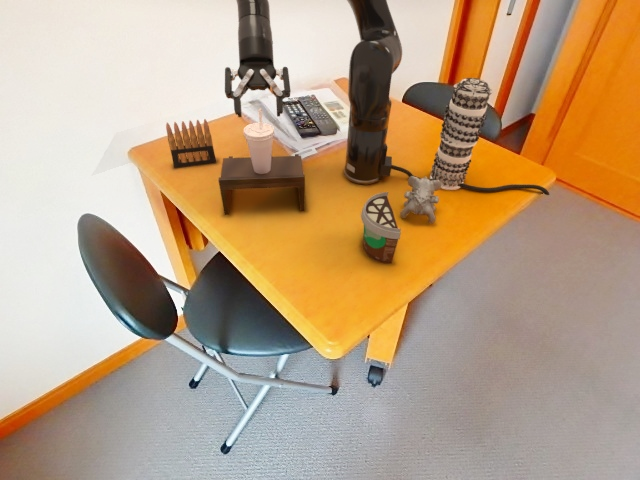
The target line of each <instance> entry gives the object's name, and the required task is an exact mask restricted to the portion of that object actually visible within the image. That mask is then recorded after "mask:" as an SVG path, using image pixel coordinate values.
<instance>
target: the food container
mask: <svg viewBox="0 0 640 480" xmlns="http://www.w3.org/2000/svg"><path fill="white" fill-rule="evenodd" d="M388 196H389V191H385V192H378V193H376V194H374V195H372V196H370V197H369V198H368V199H367V200H366V201H365V203H364V204H363V207H362V210H361V211H360V220H361V222H362V224H363V231H362V232H363V233H362V234H363V236H362V248H363V251H364V253H365V254H366V255H367V257H369V258H370V259H372V260H374V261H375V262H378V263H381V264H382V263H383V264H393V260H394V256H395V253H396V249H397V245H398V243H399V240H400V239H401V235H402V232H401V231H402V229H401V228H399V227H398V224H397V222H396V218H395V213H394V211H393V209H392V207H391V204H390V201H389V198H388Z"/></svg>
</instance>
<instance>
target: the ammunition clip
mask: <svg viewBox="0 0 640 480" xmlns="http://www.w3.org/2000/svg"><path fill="white" fill-rule="evenodd" d="M195 127H196V129H195ZM195 127H194V123H193V122H192V120H189V122H188V129H187V125H186V123H185V122H184V121H181V130H180V128H179V125H178V123H177V122H176V121H174V123H173V129H174V131H173V130H172V128H171V125H170V124H169V123H168V122H166V125H165V129H166V135H167V142H168V145H169V146H168V147H169V150H170V153H171V159H172V164H173V169H180V168H187V167H188V168H189V167H196V166H205V165H213V164H216V163H217V157H216V154H215V148H214V143H213V138H212V134H211V130H210V126H209V123H208V121H207V119H206V118H204V120H203V127H202V125H201V122H200V121H199V119H197V120H196V123H195ZM188 130H189V132H188ZM203 130H204V132H203ZM181 131H182V134H181ZM173 132H174V134H173ZM196 133H197V134H196Z"/></svg>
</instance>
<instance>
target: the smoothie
mask: <svg viewBox="0 0 640 480" xmlns="http://www.w3.org/2000/svg"><path fill="white" fill-rule="evenodd" d="M257 110H258V121H259V122H252V123H249V124H247V125H246V126H244V128H243V137H244V139H245V140H246V143H247V149H248V152H249V157H251V160H252V164H253V168H254V171H255V172H256V173H258V174H265V173H268V172H269V171H270V170H271V157H273V155H272V153H273V142H274V136H275V127H274V126H273V125H271V124H270V123H266V122H263V113H262V108H258V109H257Z"/></svg>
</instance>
